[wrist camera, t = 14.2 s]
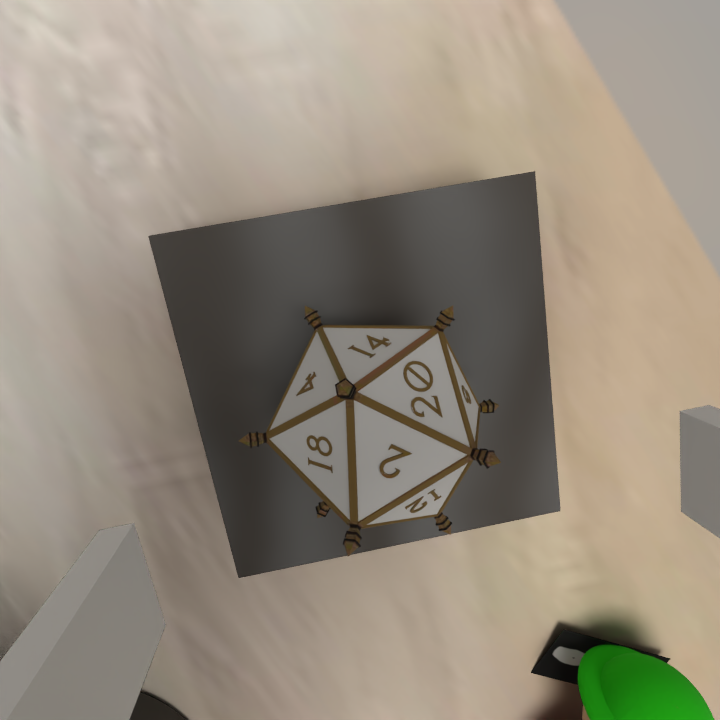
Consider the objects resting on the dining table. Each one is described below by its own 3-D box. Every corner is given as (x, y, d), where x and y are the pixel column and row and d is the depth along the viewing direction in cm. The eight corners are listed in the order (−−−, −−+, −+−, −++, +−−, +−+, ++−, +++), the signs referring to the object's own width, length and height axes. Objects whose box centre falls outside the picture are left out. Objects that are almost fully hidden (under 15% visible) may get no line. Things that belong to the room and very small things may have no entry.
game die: (326, 350, 25) (231, 244, 15) (499, 354, 22) (509, 233, 13) (300, 534, 22) (166, 540, 13) (494, 560, 20) (501, 591, 10)
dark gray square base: (252, 516, 28) (238, 578, 23) (183, 239, 24) (148, 236, 19) (515, 463, 29) (560, 511, 24) (488, 188, 25) (534, 171, 20)
